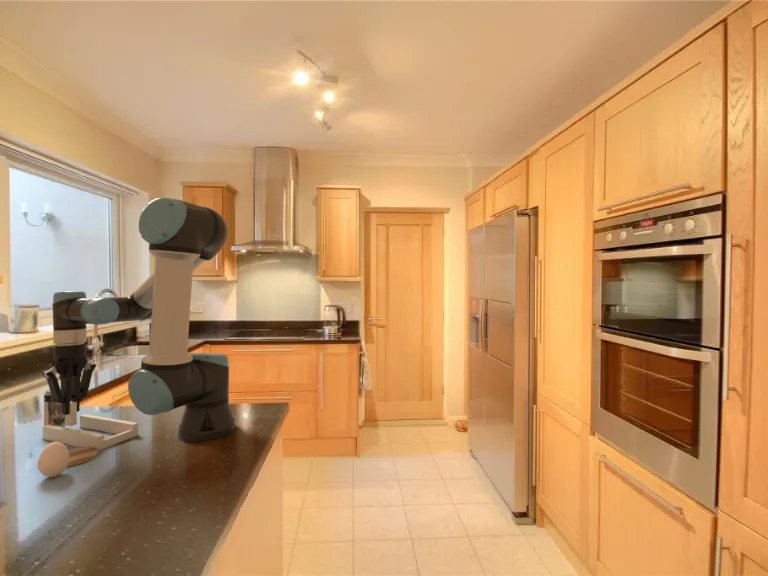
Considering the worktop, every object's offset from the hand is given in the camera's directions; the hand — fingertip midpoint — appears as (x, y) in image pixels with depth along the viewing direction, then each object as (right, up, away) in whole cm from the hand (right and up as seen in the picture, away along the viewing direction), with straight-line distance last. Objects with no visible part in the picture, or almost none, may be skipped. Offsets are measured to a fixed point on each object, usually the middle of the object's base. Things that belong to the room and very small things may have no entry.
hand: (71, 424), depth 110 cm
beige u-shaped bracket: (+8, -2, -3) cm, 9 cm away
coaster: (+14, -2, -17) cm, 22 cm away
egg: (+18, -3, -26) cm, 31 cm away
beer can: (-7, -3, +3) cm, 8 cm away
